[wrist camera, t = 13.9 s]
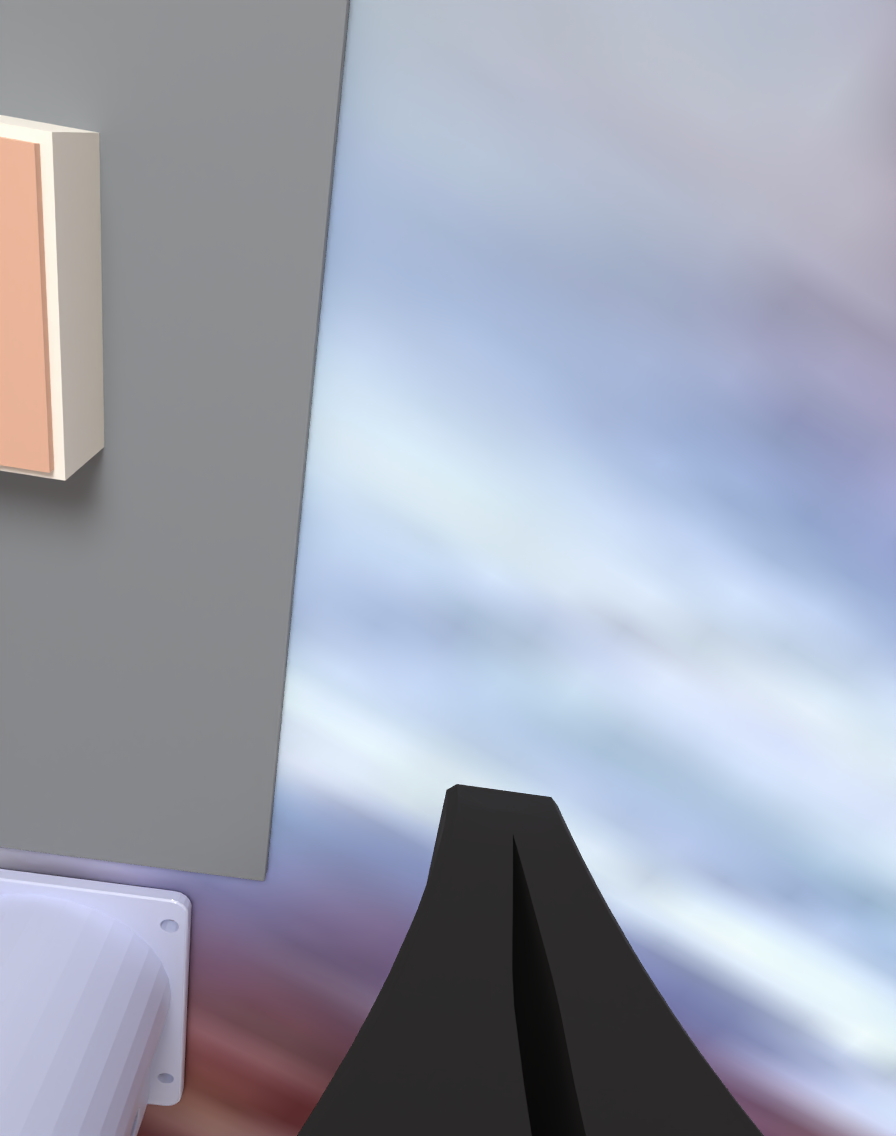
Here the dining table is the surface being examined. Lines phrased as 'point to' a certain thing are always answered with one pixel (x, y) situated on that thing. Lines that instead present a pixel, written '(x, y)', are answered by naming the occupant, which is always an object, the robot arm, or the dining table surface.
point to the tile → (50, 299)
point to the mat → (172, 430)
